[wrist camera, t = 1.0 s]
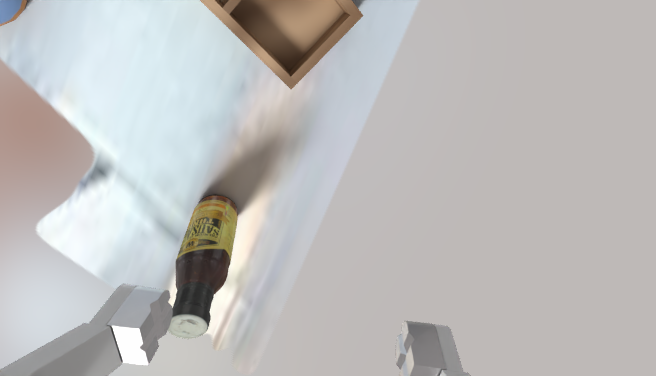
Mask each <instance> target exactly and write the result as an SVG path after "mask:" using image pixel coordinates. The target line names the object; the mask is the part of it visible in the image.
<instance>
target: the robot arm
mask: <svg viewBox="0 0 656 376" xmlns="http://www.w3.org/2000/svg"><path fill="white" fill-rule="evenodd" d="M169 299H170V293H169V291H168V290H163V289H156V288H150V287H144V286H137V285H130V284H122V285H120V286H119V287H118V288H117V289H116V290H115V291H114V293H113V294H112V295H111V296H110V298H109V299H108V300H107V301H106V303H105V304H104V305H103V306H102V308H101V309H100V310H99V311H98V313H97V314H96V315H95V316H94V318H93V319H92V320H91V321H90V323H84V324H82V325H80V326H78V327H76V328H74V329H73V330H71V331H69V332H67V333H65V334H64V335H62V336H60V337H58V338H56V339H54V340H53V341H51V342H49V343H47V344H46V345H44V346H42V347H40V348H38V349H37V350H35V351H33V352H31V353H29V354H27V355H26V356H24V357H22V358H21V359H18V360H17V361H15V362H13V363H11V364H9V365H8V366H6V367H4V368H2V369H1V370H0V376H108V375H109V374H110V373H111V372H113V371H114V370H115V369H117V368H118V367H119V366H120V365H121V364H122V363H133V364H142V365H149V363H150V361H151V360H152V358H153V356H154V354H155V352H156V350H157V349H158V347H159V345H158V341H157V340H158V339H159V338H161V337H162V336H164V335H165V334H166V332H167V330H168V328H169V327H170V323H171V320H172V314H173V310H172V306H171V305H170V304H169V303H168V301H169ZM401 329H402V334H400V335H399V336H398V338H397V342H396V349H395V355H396V364H397V366H398V367H399V368H400V370H401V371H400V373H399V376H470V374H469V373H465V372H463V368H462V365H461V362H460V358H459V355H458V352H457V349H456V345H455V342H454V339H453V336H452V332H451V329H450V328H449V327H448V326H442V325H435V324H429V323H420V322H412V321H404V322H403V324H402V327H401Z"/></svg>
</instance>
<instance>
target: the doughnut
mask: <svg viewBox="0 0 656 376" xmlns="http://www.w3.org/2000/svg"><path fill="white" fill-rule="evenodd" d="M26 2H27V0H0V26H2V25H4V24H7V23H9V22H11V21H14V20H15V19H16V18H17V17H18V16H19V15H20V14H21V13H22V11H23V10H24V9H25V6H26Z"/></svg>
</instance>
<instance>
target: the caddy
mask: <svg viewBox="0 0 656 376" xmlns="http://www.w3.org/2000/svg"><path fill="white" fill-rule="evenodd" d="M200 1H201V2H202V3H203V4H204V5H205V6H206V7H207V8H208V9H209V10H210V11H211V12H212V13H214V14H215V15H216V16H217V17H218V18H219V19H220V20H221V21H222V22H223V23H224V24H225V25H226V26H227V27H228V28H229V29H230V30H231V31H232V32H233V33H234V34H235V35H236V36H237V37H238V38H239V39H240V40H241V41H242V42H243V43H244V44H245V45H246V46H247V47H248V48H249V49H250V50H251V51H252V52H253V53H254V54H255V55H256V56H257V57H258V58H260V59H261V60H262V61H263V62H264V63H265V64H266V65H267V66H268V67H269V68H270V69H271V70H272V71H273V72H274V73H275V74H276V75H277V76H278V77H279V78H280V79H281V80H282V81H283V82H284V83H285V84H286V85H287V86H288V87H289V88H290V89H292V88H293V87H294V86H295V85H296V84H297V83H298V82H299V81H300V80H301V79H302V78H303V77H304V76H305V75H306V74H307V73H308V72H309V71H310V70H311V69H312V68H313V67H314V66H315V65H316V64H317V63H318V62H319V60H320V59H321V58H322V57H323V56H324V55H325V54H326V53H327V52H328V51H329V50H330V49H331V48H332V47H333V46H334V45H335V44H336V43H337V42H338V41H339V40H340V39H341V38H342V37H343V36H344V35H345V34H346V33H347V32H348V31H349V30H350V29H351V28H352V27H353V26H354V25H355V24H356V23H357V22H358V20H359V19H360V18H361V17H362V16H363V15H362V13H361V12H360V11H359V9H358V8H357V7H356V5H355V4H354V3H353V1H352V0H200Z"/></svg>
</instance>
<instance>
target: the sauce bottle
mask: <svg viewBox="0 0 656 376" xmlns="http://www.w3.org/2000/svg"><path fill="white" fill-rule="evenodd" d="M237 216H238V214H237V208H236V206H235V204H234V203H233V202H232V201H231V200H230V199H228V198H227V197H224V196H216V195H214V196H209V197H206V198H204V199H203V200H202V201H200V202H199V204H198V205H197V206H196V208H195V209H194V212H193V214H192V217H191V220H190V223H189V225H188V228H187V231H186V234H185V237H184V240H183V242H182V245H181V248H180V251H179V254H178V257H177V259H176V288H177V290H178V291H177V294H176V300H175V303H174V306H173V308H172V310H173V314H172V320H171V323H170V327H169V328H168V331H169V333H171V334H172V335H174V336H176V337H179V338H184V339H190V338H196V337H199V336H201V335H203V334H204V333H205V332H206V331H207V329H208V326H209V322H210V313H209V311H210V307H211V302H212V300H213V296H214V294H215V293H216V292H217V291H218V290H220V288H221V287H222V286H223V285H224V283H225V281H226V278H227V273H228V268H229V265H230V261H231V255H232V249H233V243H234V238H235V232H236V226H237Z"/></svg>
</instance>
